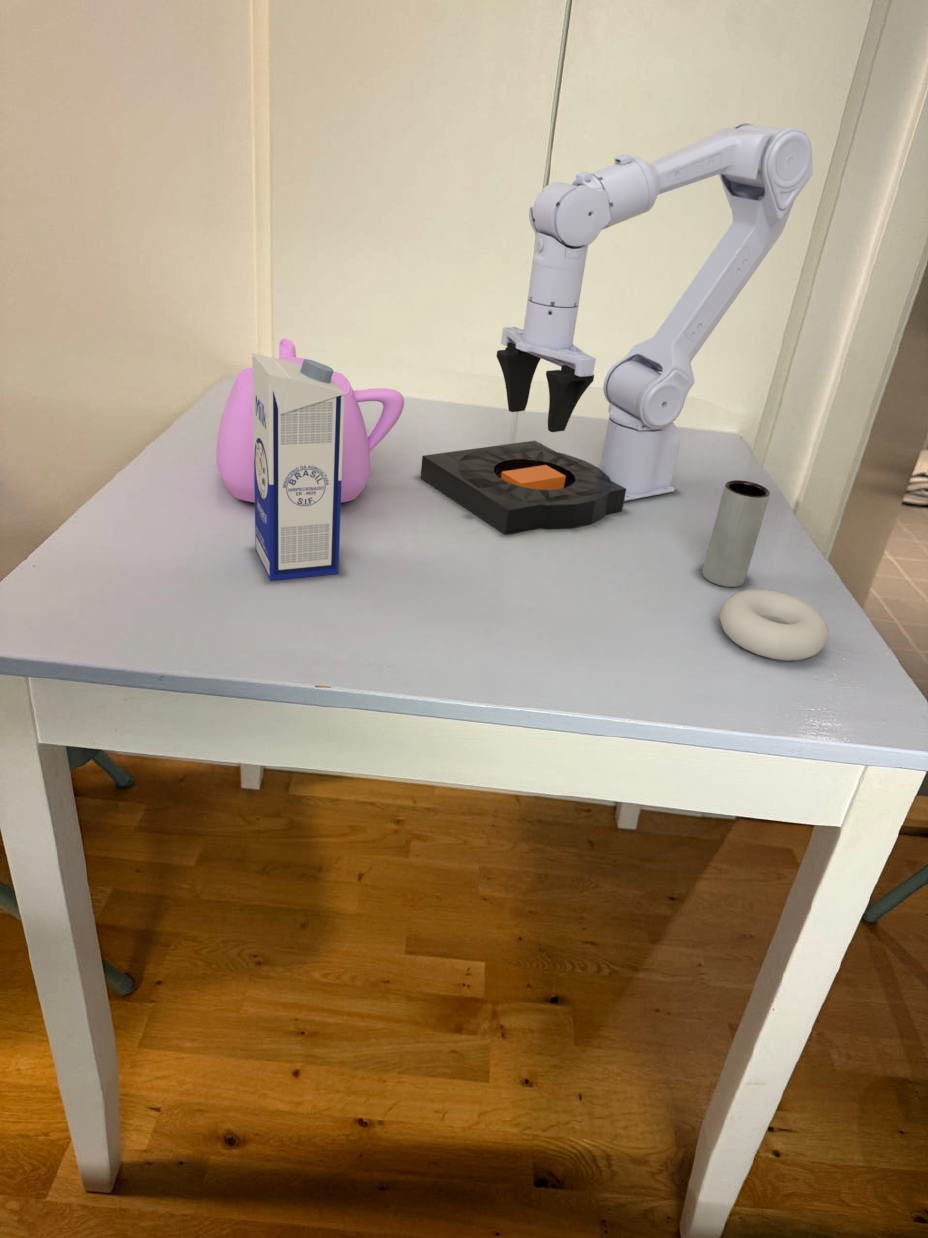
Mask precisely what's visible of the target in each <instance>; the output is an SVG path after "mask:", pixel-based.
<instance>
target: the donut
mask: <svg viewBox="0 0 928 1238" xmlns="http://www.w3.org/2000/svg"><path fill="white" fill-rule="evenodd" d="M719 621H720V624H721V627H722V630H723V632H724V633H725V634H726V635H727V637H728V638H729V639H731V641H732V642H733V643H735V644H736V645H738V646H739V647H741V648H742V649H743V650H746V651H749V652H751V653H753V654H755V655H757V656H761V657H765V658H768V659H772V660H778V661H785V662H789V661H791V662H792V661H801V660H805V659H808V658H811V657H814V656H816V655H818V653H819V652H820V651H822V649H824V648H825V646H826V645H827V643H828V639H829V627H828V623H827V621H826V620H825V618H824V617H823V615H822V614H821V613H820V612H819V611H818V610H817V609H816V608H815V607H813V606H812V605H810V604H809V603H808V602H805V601H804V600H802V599H801V598H798V597H795V596H792V595H790V594H787V593H784V592H779V591H775V590H769V589H768V590H767V589H747V590H743V591H738V592H736V593H734V594H732V595H731V596H730V597H728V598H726V600H725V601H724V602H723V604H722V606H721V609H720V612H719Z"/></svg>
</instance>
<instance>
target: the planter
mask: <svg viewBox="0 0 928 1238" xmlns="http://www.w3.org/2000/svg"><path fill="white" fill-rule="evenodd" d="M770 496H771V492H770V490H769V489H768V488H767V487H765V486H763V485H761V484H759V483H756V482H753V481H747V480H737V479H735V480H729V481H727V482H726V483H725V484H724V487H723V490H722V494H721V499H720V502H719V506H718V509H717V514H716V518H715V521H714V524H713V528H712V531H711V536H710V540H709V544H708V549H707V551H706V555H705V560H704V563H703V567H702V573H701V574H702V576H703V578H704V579H705V580H707V581H709V582H711V584H715V585H718V586H721V587H727V588H737V587H741V586H742V585H744V583H745V581H746V578H747V576H748V571H749V569H750V566H751V565H750V564H751V562H752V558H753V554H754V552H755V548H756V544H757V541H758V537H759V533H760V531H761V527H762V523H763V520H764V517H765V513H766V509H767V506H768V504H769V499H770Z"/></svg>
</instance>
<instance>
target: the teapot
mask: <svg viewBox="0 0 928 1238" xmlns="http://www.w3.org/2000/svg"><path fill="white" fill-rule="evenodd" d="M278 343H279V344H278V349H279V350H278V351H279V352H278V353H279V354H278V357H279V359H282V360H285V361H289V362H292V363H295V364H299V365H302V364H303V361H304V359H305V358H303V357H297V351H296V346H295V343H294V342H293V340H291V339H289V338H282V339H280V340H279V342H278ZM331 380H332V381H333V382H334V383H335V384H336V385H337V386H338V387H339V388H340V389H341V390H342V391H343V392H344V393H345V398H344V427H343V455H342V484H341V504H342V503H346V502H351V501H353V500H355V499H357V498H358V497H359V495H360V494H361V493H362V491H363V490H364V488H365V487H366V486H367V483H368V482H369V478H370V474H371V454H370V453H372V451H373V450H374V449H375V448H376V447H377V446H378V445H379V444H380V443H381V442H382V440H383V439H384V438H385V437H386V436H387V435H388V434H389V432H390V431H391V430H392V429H393V428H394V426H395V425H396V424H397V422H398V421H399V419H400V418H401V415H402V413H403V411H404V405H405V398H404V396H403V394H402V393H401V392H399V391H398V390H396V389H393V388H385V387H384V388H383V387H382V388H381V387H379V388H365V389H358V390H357V389H356V390H353V387H352V384H351V383H350V380H349V379H348V378H347V377H346V376H345V375H344V374H343V373H341V372H338V371H333V374H332V377H331ZM364 402H365V403H366V402H378V403H381V404H382V411H381V414H380V416H379V419H378V421H377V423H376V425H375V426H374V428H373V429H372V431H371V432H370V434H369V435H368V431H367V427H366V423H365V420H364V416H363V413H362V411H361V410H362V409H361V407H360V404H359V403H364ZM216 466H217V470H218V473H219V476H220V478H221V480H222V482H223V483H224V486H225V487H226V489H227V490H228V491H229V493H230V494H231V496H233V497H234V498H236V499H238V500H241V501H245V502H249V503H254V504H255V488H254V428H253V367H247V368H243V369H241V370H240V371H239V372H238V373H237V376H236V378H235V380H234V382H233V385H232V387H231V390H230V392H229V396H228V398H227V400H226V403H225V405H224V407H223V411H222V414H221V418H220V423H219V428H218V434H217V439H216Z"/></svg>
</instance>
